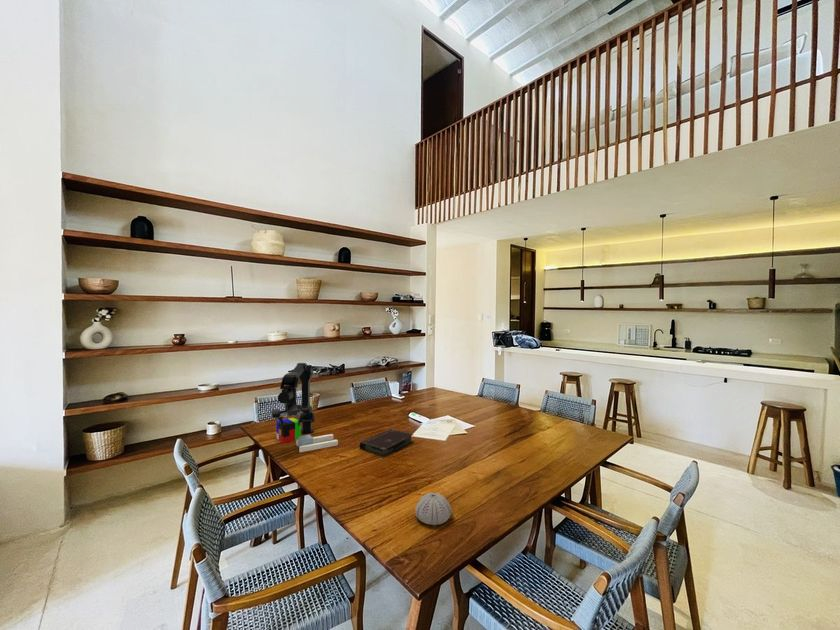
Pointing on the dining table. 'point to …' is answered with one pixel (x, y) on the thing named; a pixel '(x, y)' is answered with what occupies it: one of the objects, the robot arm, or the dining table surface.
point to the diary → (386, 442)
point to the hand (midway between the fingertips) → (290, 427)
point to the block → (305, 440)
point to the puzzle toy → (288, 430)
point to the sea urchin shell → (433, 509)
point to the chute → (319, 445)
